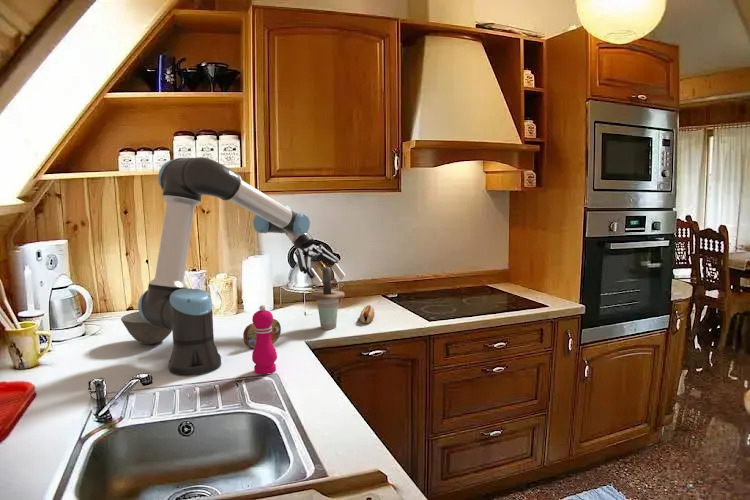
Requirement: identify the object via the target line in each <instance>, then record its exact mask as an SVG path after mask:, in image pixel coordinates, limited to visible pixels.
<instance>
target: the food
mask: <svg viewBox="0 0 750 500" xmlns="http://www.w3.org/2000/svg"><path fill="white" fill-rule="evenodd" d="M374 309H375V308H374V306H371V305H370V304H369V305H366V306H364V307H363V309H362V310H361V313H360V315H359V320H360V322H362V323H363V324H369V323H371V322H372V321H373V320H374V318H375V310H374Z"/></svg>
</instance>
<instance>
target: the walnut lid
mask: <svg viewBox="0 0 750 500" xmlns="http://www.w3.org/2000/svg"><path fill="white" fill-rule="evenodd" d="M331 269H332V268H331V266H324V267H322V290H317V291H313V292H311V293H310V294H309V298H310V299H312V300H315V301H317V300H335V299H339V300H340V299H343V298H344V297H345V292H344V291H341V290H333V289H332V276H331V272H332V271H331Z"/></svg>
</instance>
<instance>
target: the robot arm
mask: <svg viewBox="0 0 750 500" xmlns="http://www.w3.org/2000/svg"><path fill="white" fill-rule="evenodd" d="M157 175H158V177H157V181H158V184H159V186H160V188H161V190H162V200H164V201H165V210H164V218H163V223H162V229H161V237H160V242H159V251H158V255H157V256H158V257H157V261H156V267H155V268H156V269H155V274H154V275H155V277H154V278H153V279H152V280H151V281H149V282H148V286H147V290H146V291H144V293H142V294H141V295H140V298H139V300H138V305H137V310H138V312H139V314H140V316H141V318H142V319H143V320H144V321H145V322H147V323H148V324H151V325H153V326H155V327H161V328H165V329H169V330H172V332H171V333H172V342H173V345H172V348H171V353H170V359H169V360H168V372H169V373H170V374H172V375H175V376H180V377H181V376H183V377H185V376H188V377H190V376H198V375H204V374H207V373H210V372H214V371H216V370H217V369H219V368H220V367H221V366H222V357H221V354H220V353H219V351H218V348H217V345H216V342H215V339H214V336H215V335H214V317H213V315H214V314H213V301H212V298H211V295H210V293H209V292H207V291H206V290H204V289H200V288H192V287H191V288H189V287H188V285H187V284H186V283H185V275H186V274H185V273H186V268H187V267H186V266H187V261H188V255H189V254H188V253H189V248H190V241H191V234H192V228H193V222H194V214H195V210H196V209H195V208H196V207H197V206H198V205H200V204H201V201H202V196H212V197H215V198H217V199H218V198H219V199H220V200H222V201H224V202H225V201H230V202H232V203H234V204H236V205H238V206H240V207H241V208H243V209H245V210H247V211H249V212H251V213H252V214H254V217H253V220H252V226H253V228H254V230H255V232H257V233H258V234H268V233H272V234H275V233H276V234H285V235H286V236H287V238H288V239H289V241H291V243H292V244H293V246H294V248H295V249H296V250H295V251H294V254H295V256H296V260H297V264H298V267H299V271H300V272H301V273H303V275H307V276H308V277H309V279H311V280H312V282H314V285H316V287H319V286H320V285H321V284H322V283H323V279H321V277H320V276H319V275H318V273H317V272H316V271H315V269H314V268H313V267H311V260H312V259H317V260H321V261H322V262H324V263H326V264H328V265H330V268H331V269H332V271H333V272H334V273H335V274H336V276H337V277H338V278H339V281H343V279H344V278H345V277H346V275H347V274H346V273H345V272H344V271H343V270H342V267H340V265H339V264H338V263H339V261H340V259H339V258H338V257H337V256H335V255H334V254H333V253H332V252H330V251H329V250H328V249H326V248H325V246H323V244H319V245H318V246H317V245H316V244H315V239H314V238H313V237H312V235H311V234H310V233H309V230H310V227H311V221H310V217H309V216H308V215H307V214H305V213H302V212H299V213H298V212H295V211H293V209H292V208H291V207H290V206H289V205H287V204H281V203H280V202H278V201H277V200H275V199H273V198H272V197H270V196H268V195H267V194H265V193H264V192H262V191H260V190H259V189H257V188H255V187H254V186H252V185H250V184H249V183H247V182H246V181H244V180H243V179H242V177H241V175H240V174H239V173H237V172H235V171H234V170H232V169H230V168H229V167H227V166H225V165H224V164H221V163H220V162H218V161H216V160H214V159H212V158H211V159H210V158H208V157H203V156H202V157H177V158H174V159H170V160H168V161H166V162H165V163H164V164H163V165H162V166H161V168H159V171H158V174H157Z"/></svg>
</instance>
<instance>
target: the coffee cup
mask: <svg viewBox="0 0 750 500" xmlns="http://www.w3.org/2000/svg"><path fill="white" fill-rule="evenodd" d="M339 302H340V299H335V300H316V303H317V309H318V310H317V311H318V316H319V323H320V328H321V329H323V330H333V329H335V328H337V324H338V323H337V322H338V321H337V320H338V312H339V311H338V310H339Z"/></svg>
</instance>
